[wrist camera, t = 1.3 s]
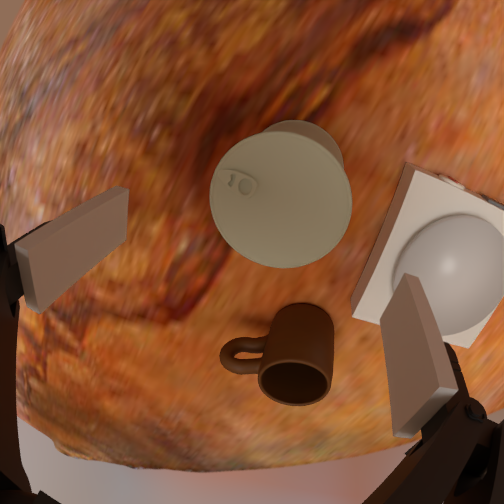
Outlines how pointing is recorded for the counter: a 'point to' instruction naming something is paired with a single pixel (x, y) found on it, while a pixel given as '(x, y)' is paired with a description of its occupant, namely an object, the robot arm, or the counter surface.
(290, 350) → the mug
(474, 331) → the scale
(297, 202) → the can
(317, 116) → the counter surface
